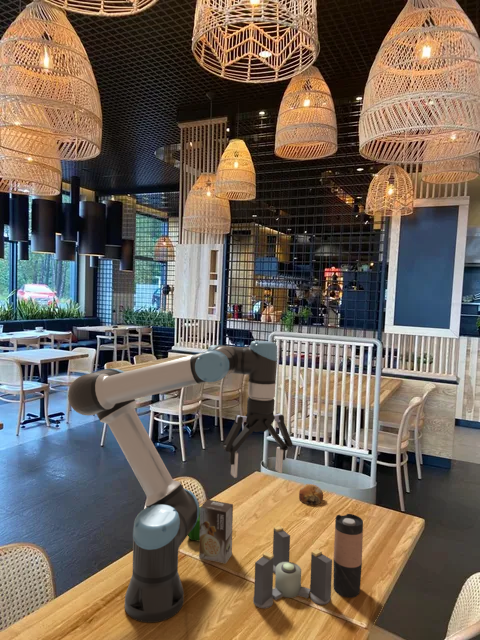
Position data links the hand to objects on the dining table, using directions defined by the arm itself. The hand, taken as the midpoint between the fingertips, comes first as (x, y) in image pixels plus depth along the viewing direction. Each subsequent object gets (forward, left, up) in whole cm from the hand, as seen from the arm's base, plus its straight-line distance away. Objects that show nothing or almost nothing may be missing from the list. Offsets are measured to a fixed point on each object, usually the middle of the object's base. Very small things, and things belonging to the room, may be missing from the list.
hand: (256, 473), depth 123 cm
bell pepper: (-9, +30, -32) cm, 45 cm away
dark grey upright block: (0, -7, -32) cm, 32 cm away
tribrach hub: (+9, -4, -32) cm, 33 cm away
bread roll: (+42, +48, -32) cm, 71 cm away
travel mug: (+25, -8, -32) cm, 42 cm away
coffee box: (-6, +18, -32) cm, 37 cm away
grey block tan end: (+10, +5, -32) cm, 34 cm away
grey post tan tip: (+16, -10, -32) cm, 37 cm away
